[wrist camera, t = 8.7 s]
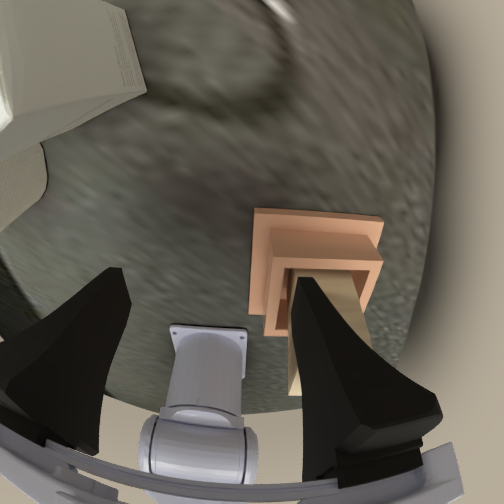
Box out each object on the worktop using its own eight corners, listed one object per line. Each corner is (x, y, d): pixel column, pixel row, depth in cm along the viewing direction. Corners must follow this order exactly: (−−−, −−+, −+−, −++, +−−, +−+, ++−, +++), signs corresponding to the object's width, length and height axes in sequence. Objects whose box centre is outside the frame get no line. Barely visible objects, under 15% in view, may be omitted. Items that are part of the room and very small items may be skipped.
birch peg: (332, 291, 23) (351, 394, 15) (286, 288, 23) (288, 395, 15) (343, 252, 21) (375, 358, 13) (292, 247, 21) (300, 359, 13)
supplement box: (127, 7, 11) (-3, -35, 1) (150, 93, 15) (12, 126, 5) (49, 54, 12) (-81, 77, 2) (69, 131, 16) (-57, 202, 6)
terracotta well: (350, 307, 26) (361, 342, 22) (248, 306, 26) (248, 344, 22) (379, 216, 21) (403, 246, 17) (254, 207, 20) (254, 239, 17)
